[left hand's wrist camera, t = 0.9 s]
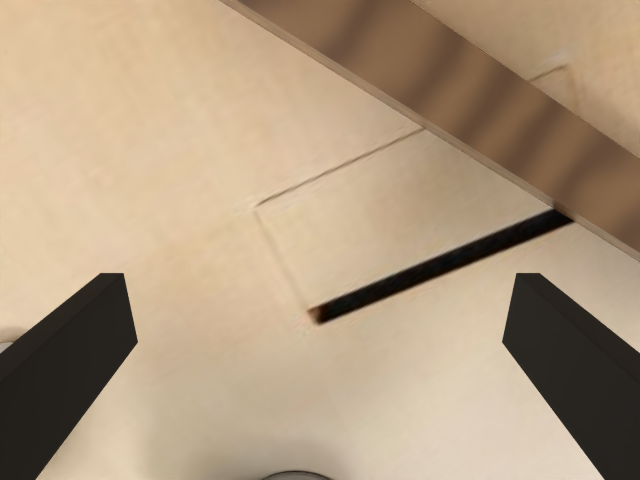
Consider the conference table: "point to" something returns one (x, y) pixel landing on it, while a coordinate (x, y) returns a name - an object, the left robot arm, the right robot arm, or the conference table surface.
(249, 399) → the conference table surface
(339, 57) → the bar
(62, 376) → the left robot arm
